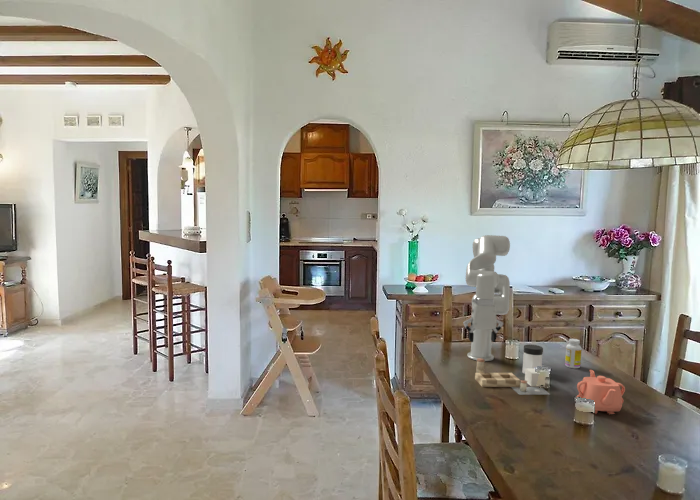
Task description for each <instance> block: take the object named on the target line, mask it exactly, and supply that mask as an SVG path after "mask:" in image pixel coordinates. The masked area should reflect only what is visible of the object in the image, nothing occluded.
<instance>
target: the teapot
mask: <svg viewBox="0 0 700 500" xmlns="http://www.w3.org/2000/svg"><path fill="white" fill-rule="evenodd" d="M589 372H590V373H589V374H590V376H584V377H582V380H581V381H578V382H577V385H576V389H577V391H578V394H577V395H576V398H577V397H581V398H586V399H591V400H594V402H595V414H594V415H597V414H598V413H599V412H606V413H607V414H608V413H609V414H608V415H610V414H615V415H616V413H615V412H621V410H622V407H623V404H624V398H623V395H624V394H625V392H626V387H625V385H624V384H622V383H621V382H616V381H615V380H613V379H612V378H609V377H606V376H604V375H597V376H596V374H595V371H594V370H593V369H589Z"/></svg>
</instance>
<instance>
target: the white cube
mask: <svg viewBox="0 0 700 500" xmlns="http://www.w3.org/2000/svg"><path fill="white" fill-rule="evenodd" d="M539 374H540V373H537V372H535V369H526V370H525V374H524V380H526V381H527V385H529V387H537V386H536V384H537V381H538V376H539Z"/></svg>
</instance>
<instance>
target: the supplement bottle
mask: <svg viewBox="0 0 700 500" xmlns="http://www.w3.org/2000/svg"><path fill="white" fill-rule="evenodd" d="M580 343H581V342H580V339H577V338H569V339H568V344H566V346H565V359H564V361H565V362H564V364H565V365H564V366H566V368H569V369H570V368H571V369H579V368H581V364H582V363H581V362H582V349H583V348H582V346H581V345H580Z"/></svg>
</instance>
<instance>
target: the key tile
mask: <svg viewBox="0 0 700 500" xmlns="http://www.w3.org/2000/svg"><path fill="white" fill-rule="evenodd" d="M539 387H540V386H528V383H527V381H526V380H525V379H520V387H510V388H511V389H512V390H513V391H514V392H515V393H517V394H518V395H520V396H521V395H523V396H524V395H537V396H538V395H541V396H542V395H544V396H545V395H546V396H547V395H552V394H551V393H549V392H548V391H547V390H546V389H545V388H543V387H542V388H539Z"/></svg>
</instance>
